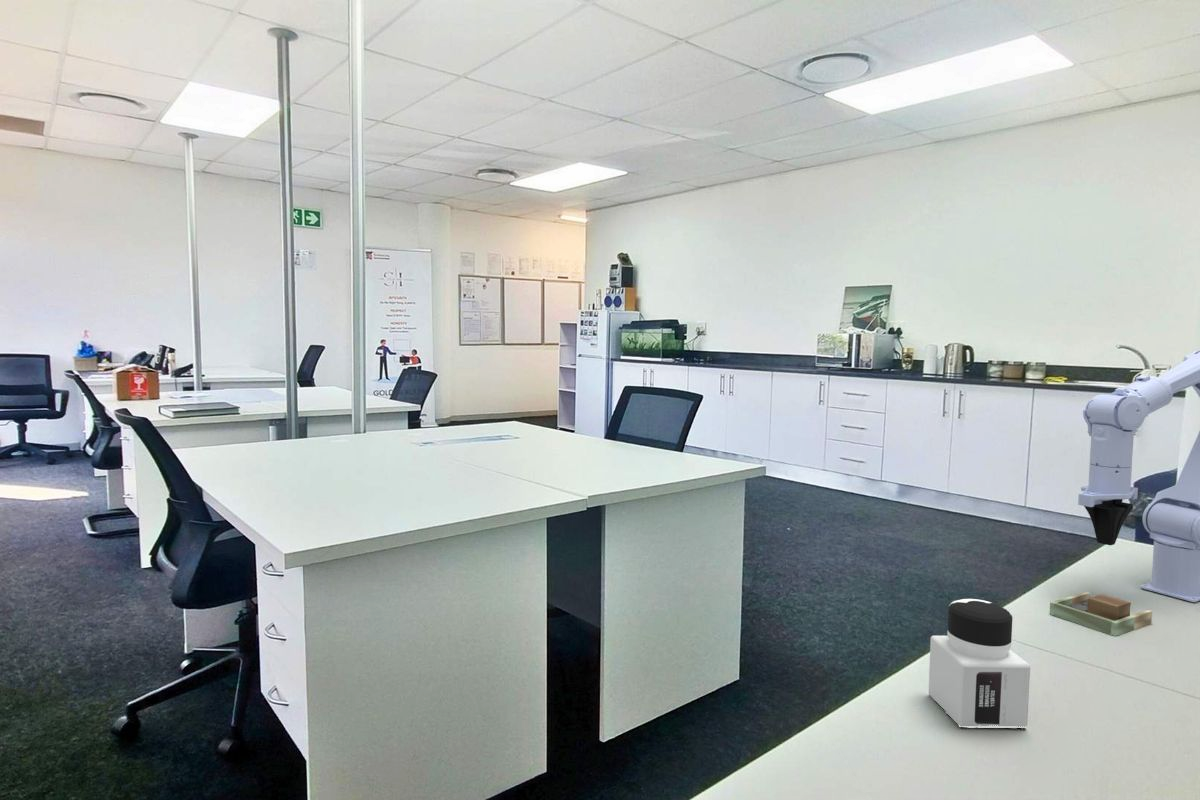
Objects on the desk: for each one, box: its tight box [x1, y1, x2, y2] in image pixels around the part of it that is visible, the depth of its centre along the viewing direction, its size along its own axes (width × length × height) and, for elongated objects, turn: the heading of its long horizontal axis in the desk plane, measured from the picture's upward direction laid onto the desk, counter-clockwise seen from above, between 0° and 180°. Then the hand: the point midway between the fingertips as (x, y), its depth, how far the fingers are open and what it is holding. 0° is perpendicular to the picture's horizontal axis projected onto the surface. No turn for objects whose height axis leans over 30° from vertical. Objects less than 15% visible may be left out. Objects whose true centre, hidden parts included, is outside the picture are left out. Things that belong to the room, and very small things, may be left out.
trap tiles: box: [1071, 602, 1088, 612], centre depth 110 cm, size 6×2×1 cm, turn 117°
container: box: [928, 598, 1031, 727], centre depth 78 cm, size 8×8×13 cm
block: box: [1087, 593, 1132, 621], centre depth 104 cm, size 4×4×4 cm
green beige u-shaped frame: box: [1049, 591, 1153, 637], centre depth 106 cm, size 10×9×2 cm
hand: (1105, 543), depth 114 cm, fingers closed
